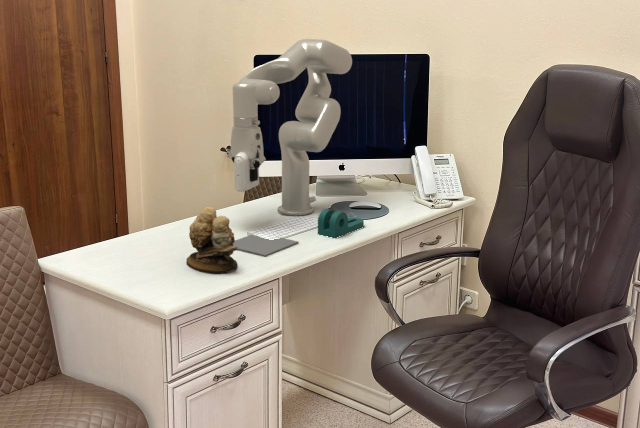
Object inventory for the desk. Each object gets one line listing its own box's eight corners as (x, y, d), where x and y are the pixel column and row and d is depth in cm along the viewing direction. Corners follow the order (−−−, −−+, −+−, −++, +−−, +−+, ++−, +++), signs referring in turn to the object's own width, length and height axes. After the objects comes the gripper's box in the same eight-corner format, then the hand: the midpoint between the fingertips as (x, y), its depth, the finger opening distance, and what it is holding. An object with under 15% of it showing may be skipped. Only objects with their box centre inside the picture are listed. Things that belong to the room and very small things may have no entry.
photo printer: (245, 192, 230) (243, 153, 226) (233, 191, 231) (231, 152, 228) (261, 185, 239) (260, 147, 235) (249, 183, 240) (248, 146, 237)
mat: (257, 234, 232) (257, 232, 232) (298, 243, 223) (298, 241, 223) (223, 246, 219) (223, 244, 219) (265, 257, 210) (265, 255, 210)
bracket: (334, 239, 228) (335, 214, 226) (317, 235, 232) (318, 211, 230) (367, 226, 242) (368, 203, 240) (350, 223, 246) (351, 200, 244)
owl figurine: (251, 268, 202) (250, 208, 197) (218, 279, 193) (216, 217, 189) (208, 253, 213) (206, 196, 209) (175, 263, 205) (172, 204, 200)
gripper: (274, 123, 227) (275, 181, 232) (233, 118, 237) (234, 173, 242) (259, 126, 221) (260, 185, 227) (217, 121, 231) (219, 178, 236)
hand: (247, 179), depth 234 cm, fingers closed on photo printer, 4 cm apart
